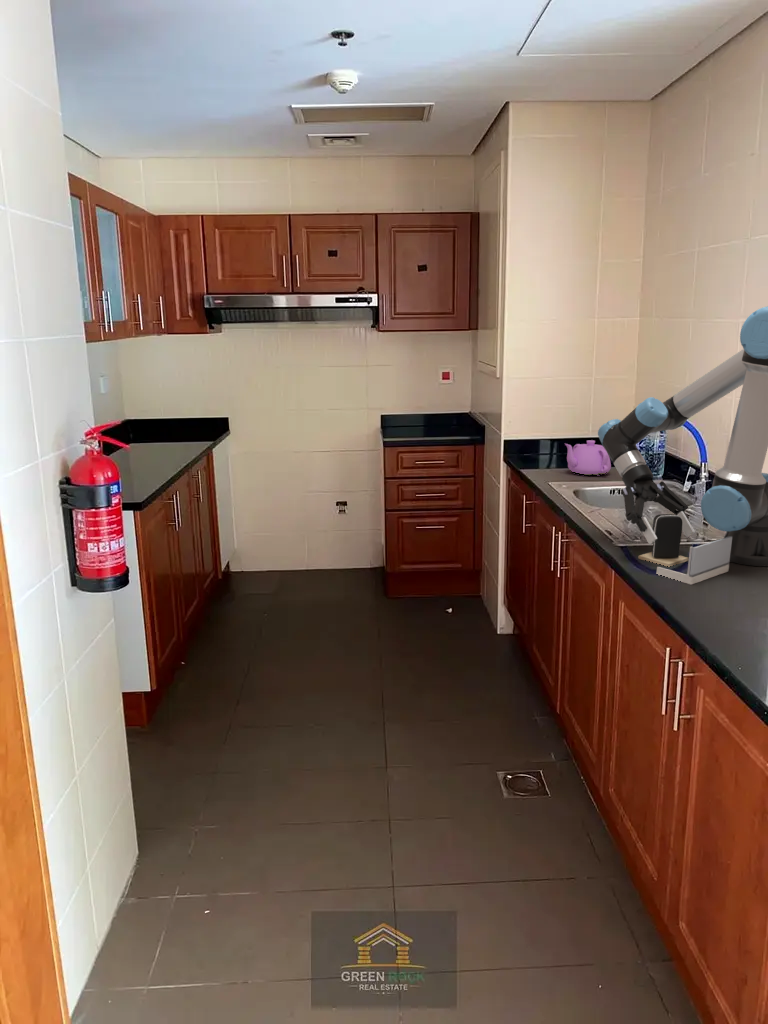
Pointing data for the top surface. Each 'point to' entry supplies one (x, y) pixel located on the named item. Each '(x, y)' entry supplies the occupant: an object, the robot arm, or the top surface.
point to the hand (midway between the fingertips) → (672, 538)
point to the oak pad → (663, 559)
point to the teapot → (588, 458)
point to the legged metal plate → (703, 562)
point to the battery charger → (667, 536)
